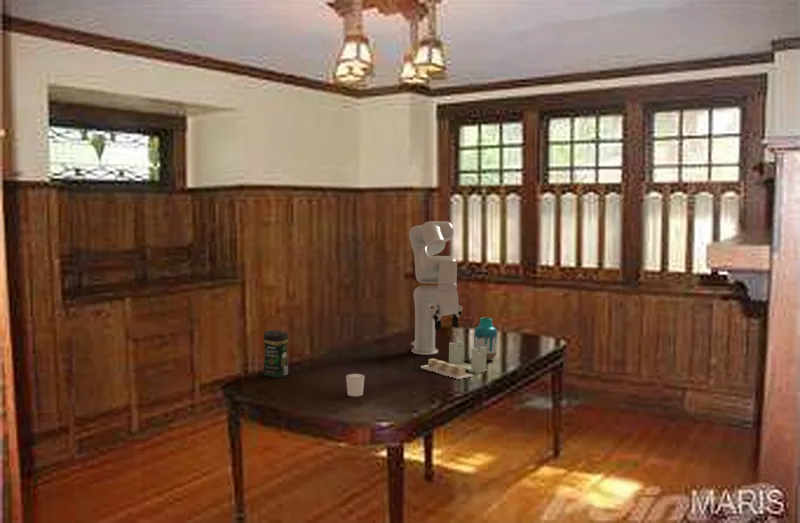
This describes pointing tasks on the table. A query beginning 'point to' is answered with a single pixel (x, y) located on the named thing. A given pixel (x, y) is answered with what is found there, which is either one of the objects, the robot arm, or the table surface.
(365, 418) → the table surface
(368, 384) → the table surface
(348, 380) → the shot glass
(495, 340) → the vase
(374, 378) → the table surface
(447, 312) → the robot arm
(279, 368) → the coffee jar
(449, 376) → the felt mat
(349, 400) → the table surface
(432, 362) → the rail
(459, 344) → the cradle stand
